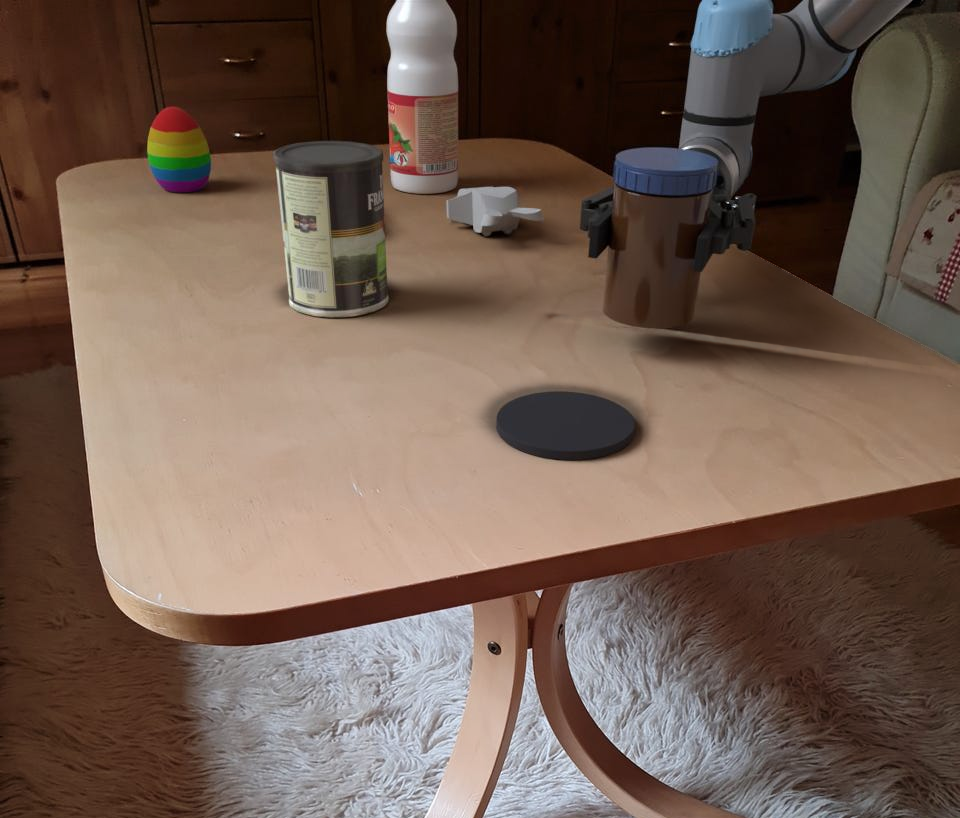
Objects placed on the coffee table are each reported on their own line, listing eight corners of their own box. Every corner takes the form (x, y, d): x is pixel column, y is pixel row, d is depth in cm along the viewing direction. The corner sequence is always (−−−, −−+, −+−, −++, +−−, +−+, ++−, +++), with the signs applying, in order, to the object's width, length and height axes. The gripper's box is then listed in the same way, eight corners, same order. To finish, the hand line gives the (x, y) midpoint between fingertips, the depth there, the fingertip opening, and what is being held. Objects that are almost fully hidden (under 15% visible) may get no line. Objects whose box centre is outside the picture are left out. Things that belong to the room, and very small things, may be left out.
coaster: (647, 412, 83) (648, 403, 83) (615, 470, 75) (616, 461, 74) (521, 391, 86) (521, 382, 86) (476, 445, 78) (476, 436, 77)
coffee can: (391, 285, 108) (386, 140, 99) (385, 319, 99) (379, 164, 91) (295, 283, 107) (281, 138, 99) (280, 317, 99) (264, 163, 91)
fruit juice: (451, 197, 137) (450, -53, 120) (383, 193, 138) (373, -55, 121) (463, 180, 144) (464, -57, 127) (399, 177, 146) (392, -59, 129)
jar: (701, 303, 95) (723, 159, 87) (684, 334, 89) (706, 181, 81) (614, 292, 97) (629, 150, 90) (592, 320, 91) (605, 170, 83)
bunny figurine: (503, 178, 129) (553, 192, 117) (504, 221, 132) (553, 239, 120) (434, 184, 126) (477, 198, 114) (436, 228, 129) (478, 246, 117)
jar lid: (723, 176, 88) (726, 153, 87) (705, 200, 82) (709, 175, 81) (626, 166, 91) (628, 143, 89) (601, 189, 84) (603, 164, 83)
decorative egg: (143, 186, 139) (129, 105, 133) (196, 177, 143) (185, 99, 137) (170, 198, 134) (156, 115, 128) (225, 189, 138) (214, 108, 132)
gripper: (794, 237, 102) (764, 309, 85) (590, 213, 107) (524, 277, 90) (810, 156, 97) (782, 216, 80) (597, 136, 103) (528, 187, 86)
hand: (646, 248), depth 85 cm, fingers closed on jar, 8 cm apart
